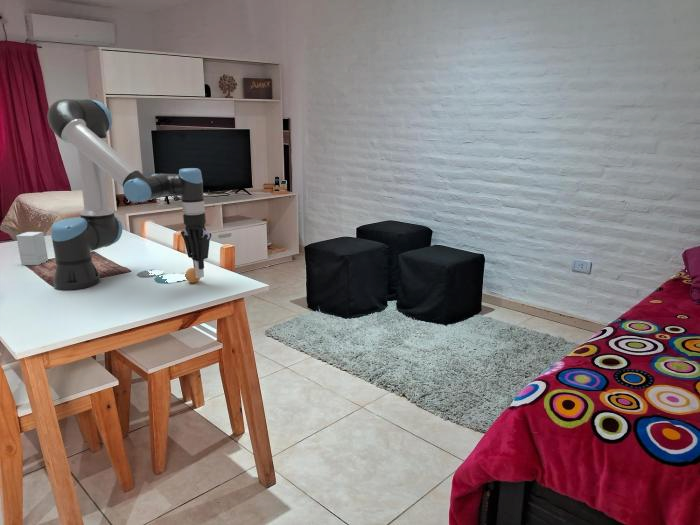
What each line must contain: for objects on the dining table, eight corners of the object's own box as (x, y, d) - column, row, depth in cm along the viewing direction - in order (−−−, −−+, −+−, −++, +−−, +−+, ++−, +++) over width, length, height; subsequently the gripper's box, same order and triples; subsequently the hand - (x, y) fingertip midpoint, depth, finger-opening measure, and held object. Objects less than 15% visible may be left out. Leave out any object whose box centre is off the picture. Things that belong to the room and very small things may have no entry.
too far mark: (149, 278, 202) (149, 278, 202) (131, 275, 206) (131, 274, 206) (169, 272, 210) (169, 271, 210) (152, 268, 215) (152, 268, 215)
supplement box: (49, 260, 227) (44, 231, 224) (37, 265, 220) (32, 235, 217) (32, 260, 228) (27, 231, 224) (20, 265, 221) (15, 235, 217)
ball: (195, 277, 192) (185, 266, 193) (189, 287, 195) (180, 277, 196) (206, 273, 197) (196, 263, 198) (200, 283, 199) (191, 273, 201)
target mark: (171, 285, 194) (171, 284, 194) (146, 280, 200) (146, 279, 200) (197, 276, 205) (197, 275, 205) (173, 271, 211) (173, 270, 211)
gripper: (215, 212, 188) (220, 277, 195) (188, 210, 195) (194, 272, 201) (199, 216, 182) (205, 282, 188) (172, 213, 188) (179, 277, 195)
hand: (199, 277), depth 195 cm, fingers closed
